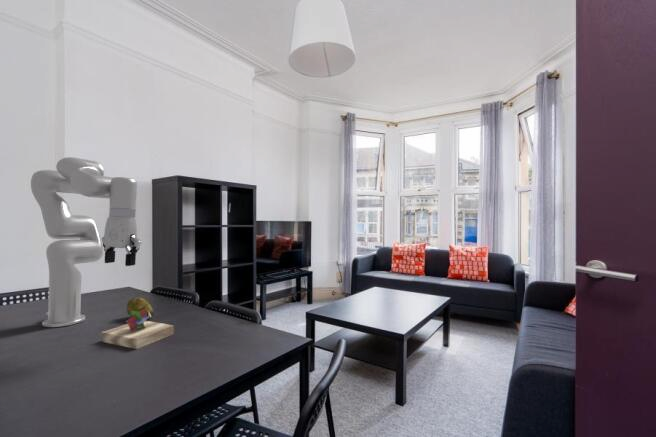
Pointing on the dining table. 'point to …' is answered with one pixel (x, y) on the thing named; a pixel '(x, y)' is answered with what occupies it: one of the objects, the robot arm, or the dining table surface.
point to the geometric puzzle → (138, 319)
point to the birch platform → (137, 334)
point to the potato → (139, 306)
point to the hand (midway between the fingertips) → (119, 264)
